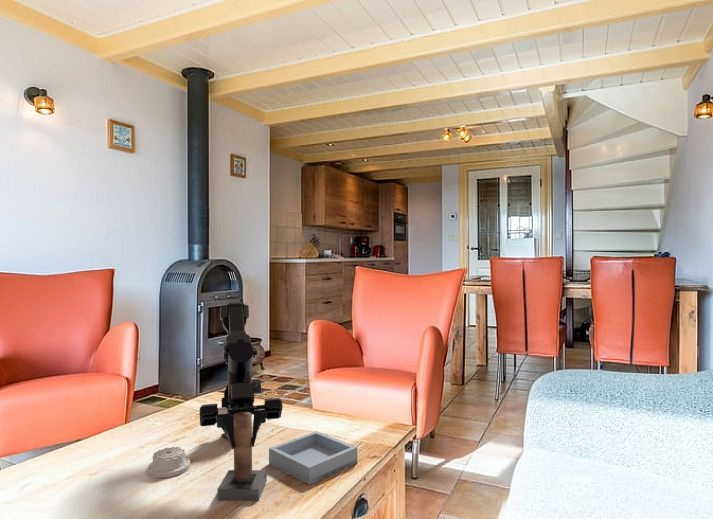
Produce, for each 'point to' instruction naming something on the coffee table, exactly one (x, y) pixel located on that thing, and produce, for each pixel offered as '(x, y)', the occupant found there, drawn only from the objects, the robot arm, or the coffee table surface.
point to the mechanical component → (168, 463)
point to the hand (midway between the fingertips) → (243, 447)
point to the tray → (312, 456)
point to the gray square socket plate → (242, 486)
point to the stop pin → (242, 445)
